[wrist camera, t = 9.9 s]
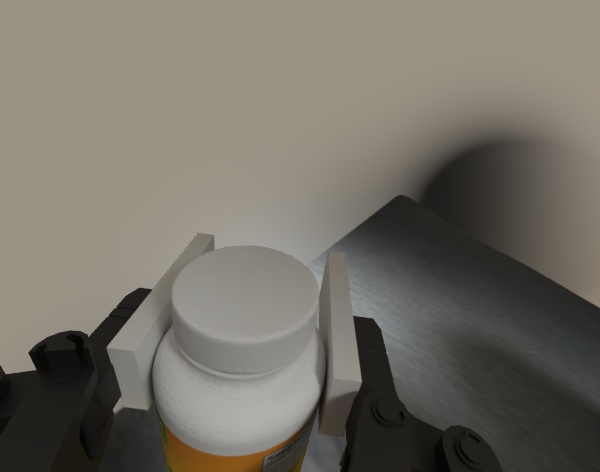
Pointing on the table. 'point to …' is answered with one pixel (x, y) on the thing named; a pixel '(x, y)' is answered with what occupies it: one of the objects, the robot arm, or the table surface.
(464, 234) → the table surface
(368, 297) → the table surface
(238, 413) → the supplement bottle
